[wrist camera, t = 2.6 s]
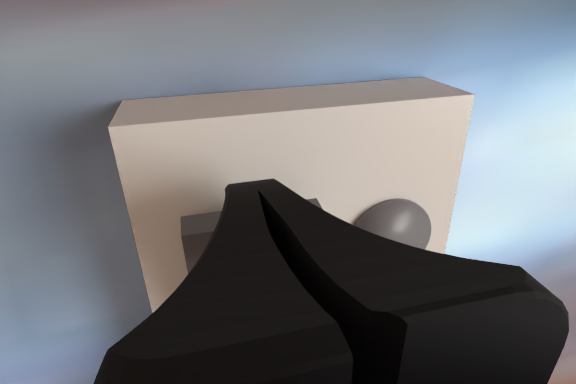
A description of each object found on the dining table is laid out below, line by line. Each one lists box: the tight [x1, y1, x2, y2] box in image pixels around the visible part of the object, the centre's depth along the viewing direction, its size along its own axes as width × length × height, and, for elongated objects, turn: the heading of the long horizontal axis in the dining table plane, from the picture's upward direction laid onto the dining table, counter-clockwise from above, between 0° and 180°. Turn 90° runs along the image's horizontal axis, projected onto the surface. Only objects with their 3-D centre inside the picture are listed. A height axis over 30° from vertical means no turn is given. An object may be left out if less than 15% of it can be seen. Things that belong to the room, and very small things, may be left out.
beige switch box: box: [108, 77, 475, 313], centre depth 17 cm, size 18×11×3 cm, turn 1°
